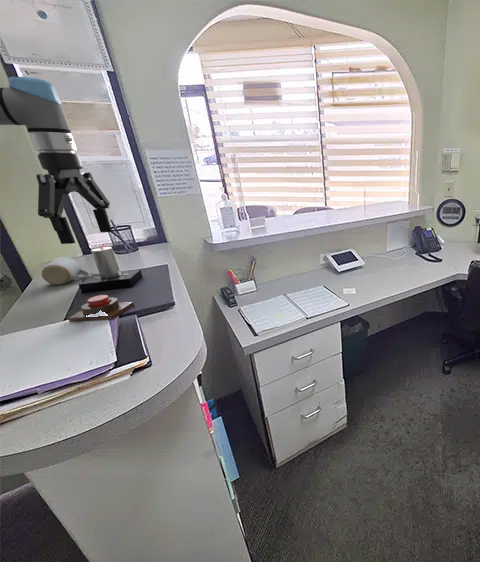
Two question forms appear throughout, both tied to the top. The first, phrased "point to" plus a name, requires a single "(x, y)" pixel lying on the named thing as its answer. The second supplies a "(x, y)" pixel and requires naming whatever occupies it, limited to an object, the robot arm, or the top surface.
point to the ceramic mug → (63, 271)
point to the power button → (98, 300)
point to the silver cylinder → (106, 262)
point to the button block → (111, 309)
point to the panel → (111, 281)
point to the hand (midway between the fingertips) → (89, 237)
